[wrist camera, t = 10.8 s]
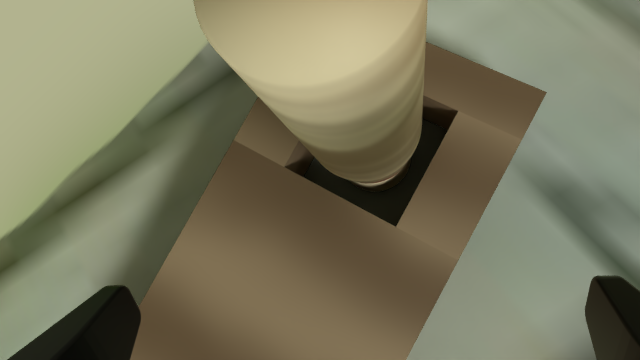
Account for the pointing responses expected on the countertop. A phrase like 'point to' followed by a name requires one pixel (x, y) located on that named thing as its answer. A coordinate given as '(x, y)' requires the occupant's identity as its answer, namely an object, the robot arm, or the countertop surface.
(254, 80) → the ash peg
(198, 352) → the walnut board
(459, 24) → the countertop surface
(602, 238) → the countertop surface
